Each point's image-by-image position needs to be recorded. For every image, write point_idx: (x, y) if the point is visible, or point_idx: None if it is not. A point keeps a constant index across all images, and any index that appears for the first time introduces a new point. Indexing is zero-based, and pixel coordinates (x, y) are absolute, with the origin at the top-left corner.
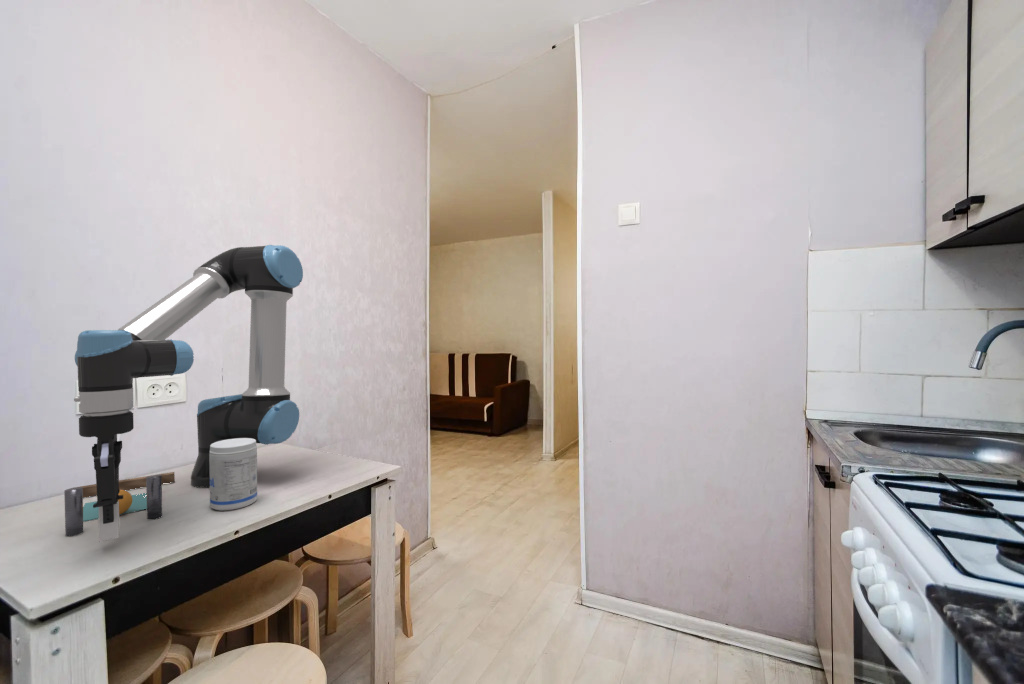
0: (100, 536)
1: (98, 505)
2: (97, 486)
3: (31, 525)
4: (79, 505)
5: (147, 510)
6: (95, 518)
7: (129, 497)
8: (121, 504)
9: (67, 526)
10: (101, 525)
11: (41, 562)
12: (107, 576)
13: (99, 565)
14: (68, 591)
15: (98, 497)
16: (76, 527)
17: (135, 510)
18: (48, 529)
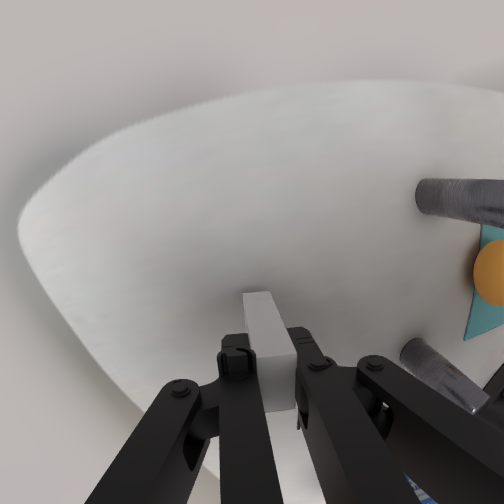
0: (243, 302)
1: (168, 385)
2: (109, 471)
3: (499, 121)
4: (476, 218)
5: (422, 352)
6: (482, 227)
7: (496, 304)
8: (483, 289)
9: (435, 184)
10: (246, 321)
11: (255, 153)
12: (70, 319)
13: (136, 298)
14: (37, 262)
15: (147, 418)
16: (430, 203)
17: (475, 299)
18: (474, 145)
